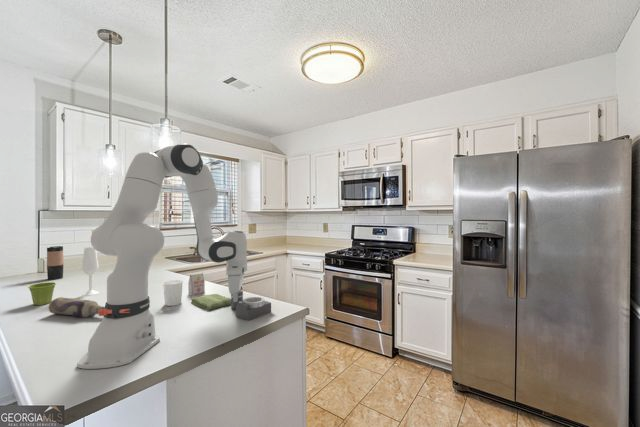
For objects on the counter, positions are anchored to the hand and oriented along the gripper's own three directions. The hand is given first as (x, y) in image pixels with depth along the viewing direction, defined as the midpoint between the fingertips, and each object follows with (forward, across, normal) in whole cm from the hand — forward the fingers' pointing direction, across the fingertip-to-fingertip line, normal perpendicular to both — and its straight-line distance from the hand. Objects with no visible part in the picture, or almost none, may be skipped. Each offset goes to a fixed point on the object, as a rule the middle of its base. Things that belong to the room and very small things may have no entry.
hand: (237, 297), depth 128 cm
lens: (+4, 0, 0) cm, 4 cm away
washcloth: (+5, -8, -13) cm, 16 cm away
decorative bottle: (+4, +1, -63) cm, 63 cm away
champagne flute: (+4, -33, -78) cm, 85 cm away
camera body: (+4, +10, +8) cm, 13 cm away
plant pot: (+4, -19, -90) cm, 92 cm away
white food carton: (+5, -26, -24) cm, 35 cm away
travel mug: (+4, -72, -121) cm, 141 cm away
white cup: (+4, -10, -30) cm, 32 cm away
